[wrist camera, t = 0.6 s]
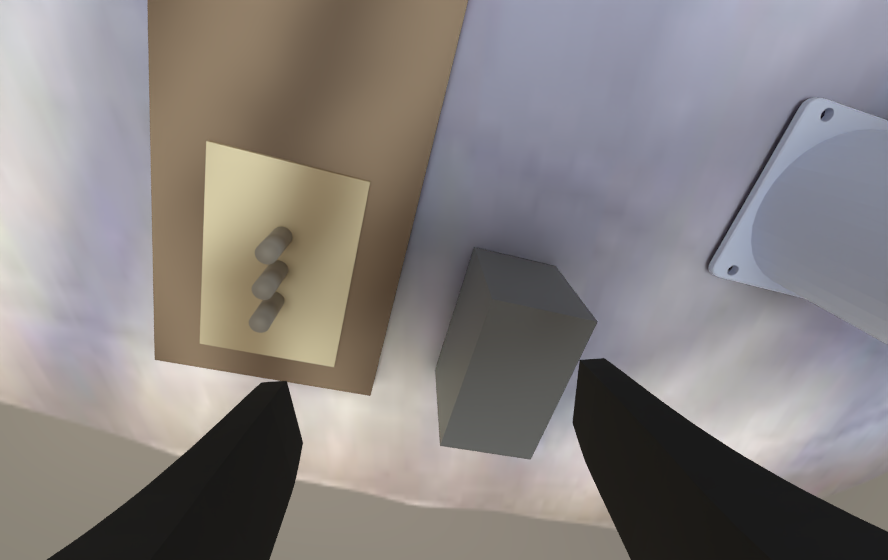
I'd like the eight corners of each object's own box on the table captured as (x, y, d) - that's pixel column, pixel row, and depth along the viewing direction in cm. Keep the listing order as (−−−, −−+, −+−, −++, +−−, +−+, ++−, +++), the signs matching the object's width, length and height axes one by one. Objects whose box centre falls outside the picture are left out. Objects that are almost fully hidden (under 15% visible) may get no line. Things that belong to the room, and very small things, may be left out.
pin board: (488, -91, 14) (507, -137, 11) (372, 382, 22) (365, 428, 19) (163, -214, 12) (84, -306, 9) (166, 347, 20) (124, 391, 17)
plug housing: (555, 266, 20) (597, 321, 15) (507, 383, 22) (530, 459, 18) (474, 247, 19) (492, 299, 14) (435, 370, 22) (440, 445, 17)
